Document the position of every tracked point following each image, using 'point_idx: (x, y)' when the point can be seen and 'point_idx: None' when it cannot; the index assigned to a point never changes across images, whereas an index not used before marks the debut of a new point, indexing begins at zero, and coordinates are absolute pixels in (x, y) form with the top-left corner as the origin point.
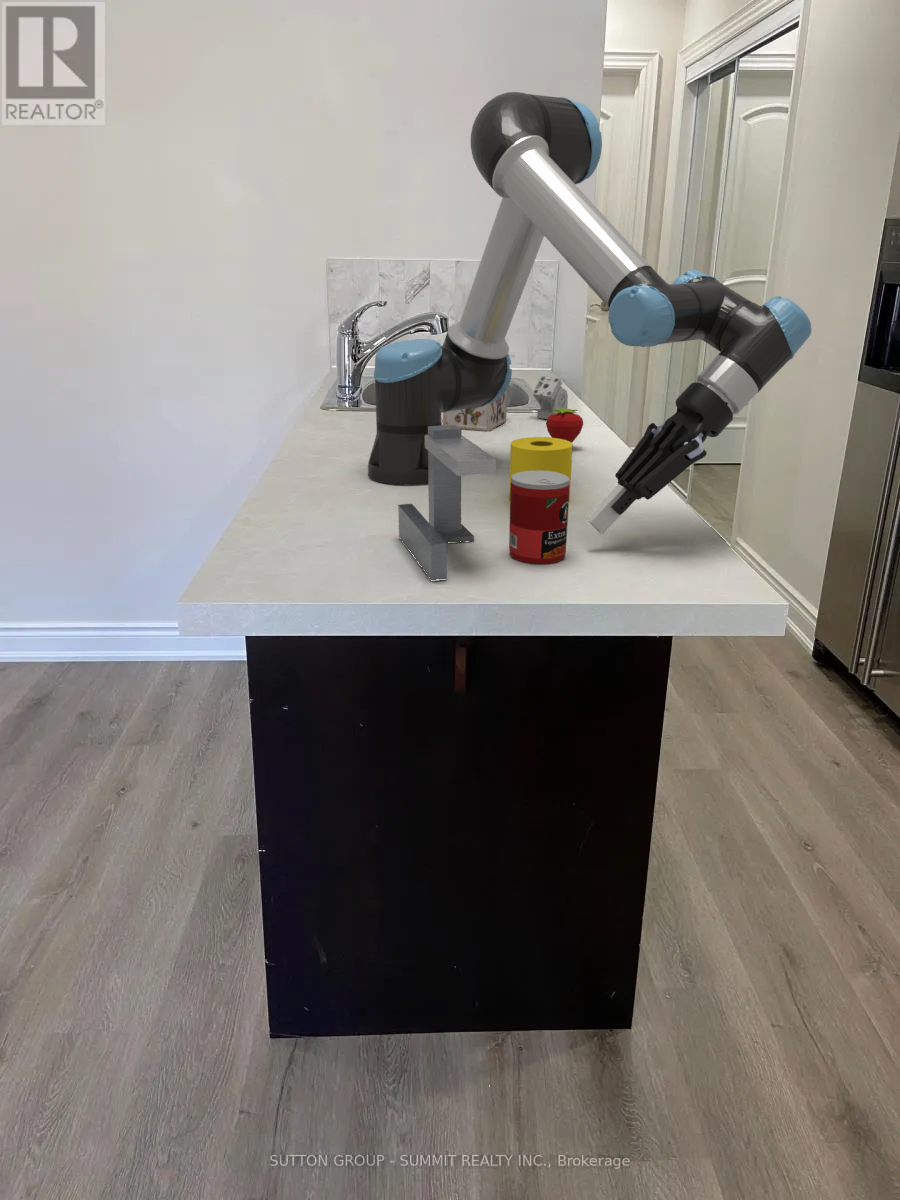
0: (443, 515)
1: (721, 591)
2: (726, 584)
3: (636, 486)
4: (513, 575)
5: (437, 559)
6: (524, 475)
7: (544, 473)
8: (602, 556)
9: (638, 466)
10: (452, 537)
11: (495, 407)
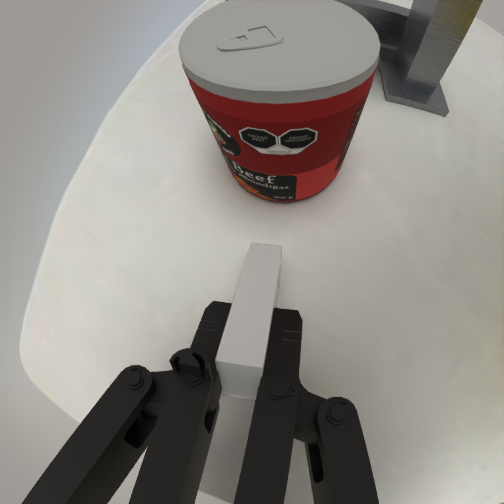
0: (405, 45)
1: (45, 342)
2: (59, 368)
3: (144, 372)
4: None
5: None
6: (343, 22)
7: (350, 59)
8: (227, 271)
9: (239, 480)
10: (385, 70)
11: None
